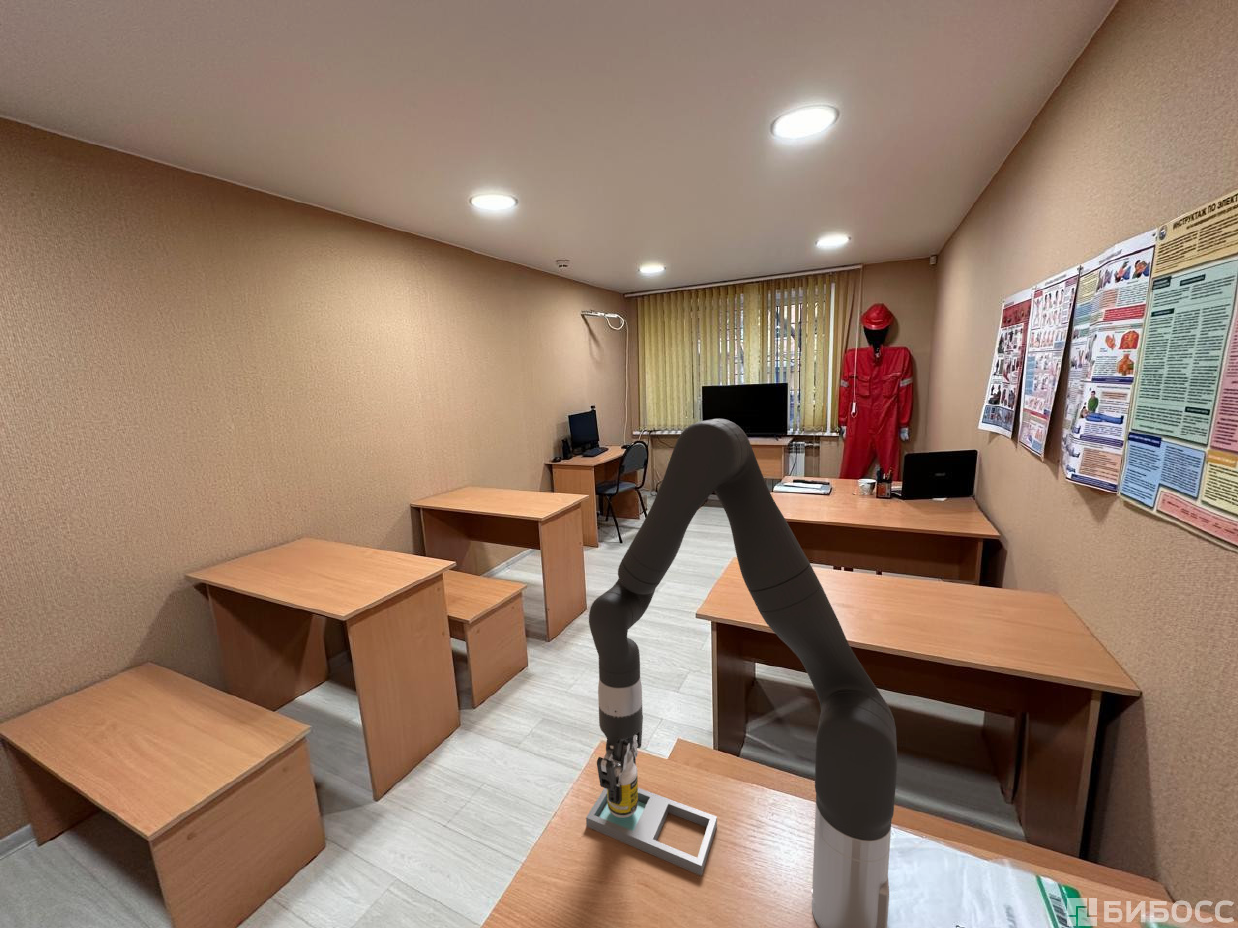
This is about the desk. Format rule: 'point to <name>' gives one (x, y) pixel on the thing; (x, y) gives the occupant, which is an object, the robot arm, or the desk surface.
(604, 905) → the desk surface
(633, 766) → the supplement bottle
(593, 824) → the frame
